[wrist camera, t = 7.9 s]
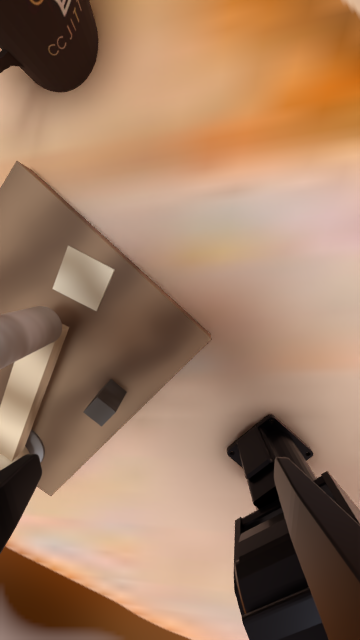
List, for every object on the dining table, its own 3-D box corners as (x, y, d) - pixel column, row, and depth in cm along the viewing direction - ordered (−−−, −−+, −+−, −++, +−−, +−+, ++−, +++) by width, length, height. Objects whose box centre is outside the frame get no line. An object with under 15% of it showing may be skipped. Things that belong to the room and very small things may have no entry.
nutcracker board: (210, 334, 20) (215, 351, 16) (59, 483, 25) (31, 527, 21) (31, 169, 18) (-22, 136, 13) (-95, 372, 23) (-162, 396, 19)
